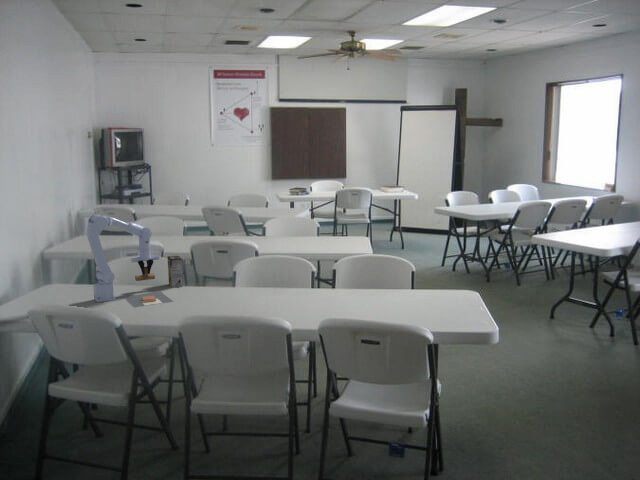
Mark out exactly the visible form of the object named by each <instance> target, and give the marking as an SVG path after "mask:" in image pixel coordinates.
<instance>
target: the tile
mask: <svg viewBox="0 0 640 480" xmlns="http://www.w3.org/2000/svg"><path fill="white" fill-rule="evenodd" d="M142 300H143V302H144V303H145V302H154V301H156V298H155V297H154V296H144V297H142Z"/></svg>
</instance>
